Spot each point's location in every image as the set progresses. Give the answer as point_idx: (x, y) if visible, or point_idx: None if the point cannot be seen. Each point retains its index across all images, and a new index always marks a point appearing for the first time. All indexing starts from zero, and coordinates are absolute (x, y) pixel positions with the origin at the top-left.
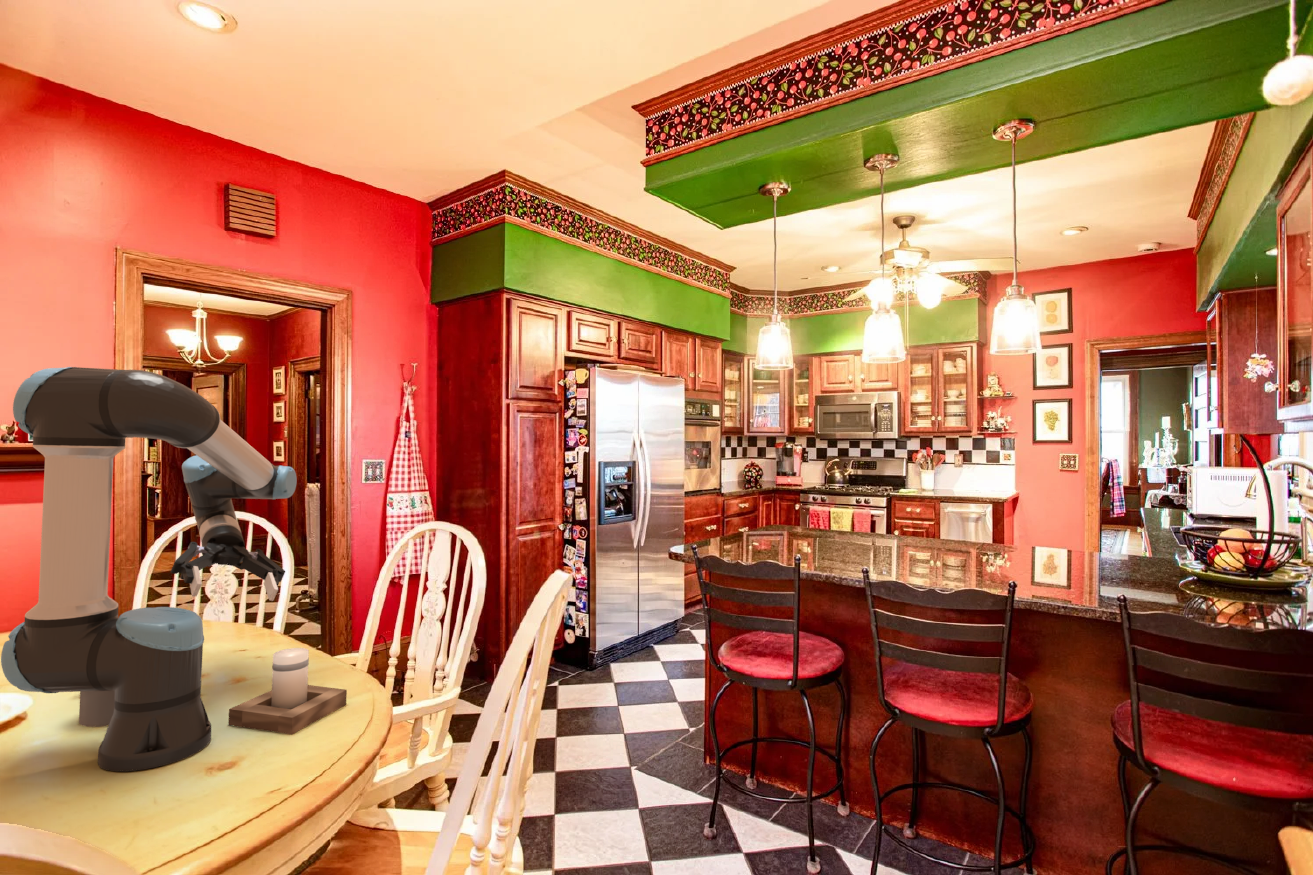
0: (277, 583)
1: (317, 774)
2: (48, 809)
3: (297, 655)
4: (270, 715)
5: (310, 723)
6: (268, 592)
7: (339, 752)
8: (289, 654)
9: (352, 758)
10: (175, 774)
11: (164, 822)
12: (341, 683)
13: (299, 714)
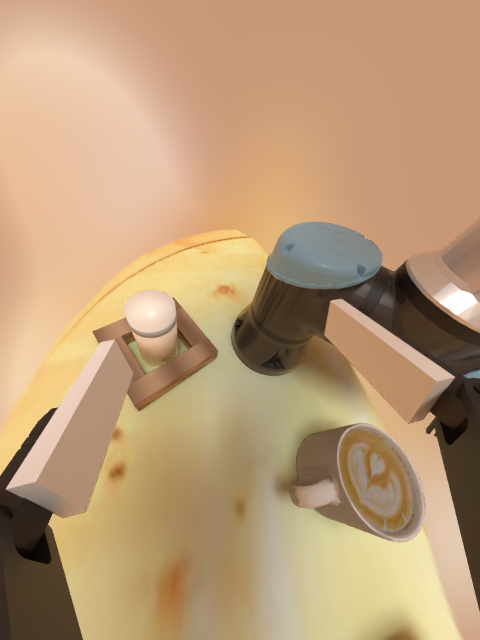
0: (57, 408)
1: (180, 252)
2: None
3: (149, 291)
4: (187, 314)
5: None
6: (119, 396)
7: (158, 265)
8: (155, 301)
9: (155, 255)
10: (251, 297)
11: (252, 258)
12: None
13: None
